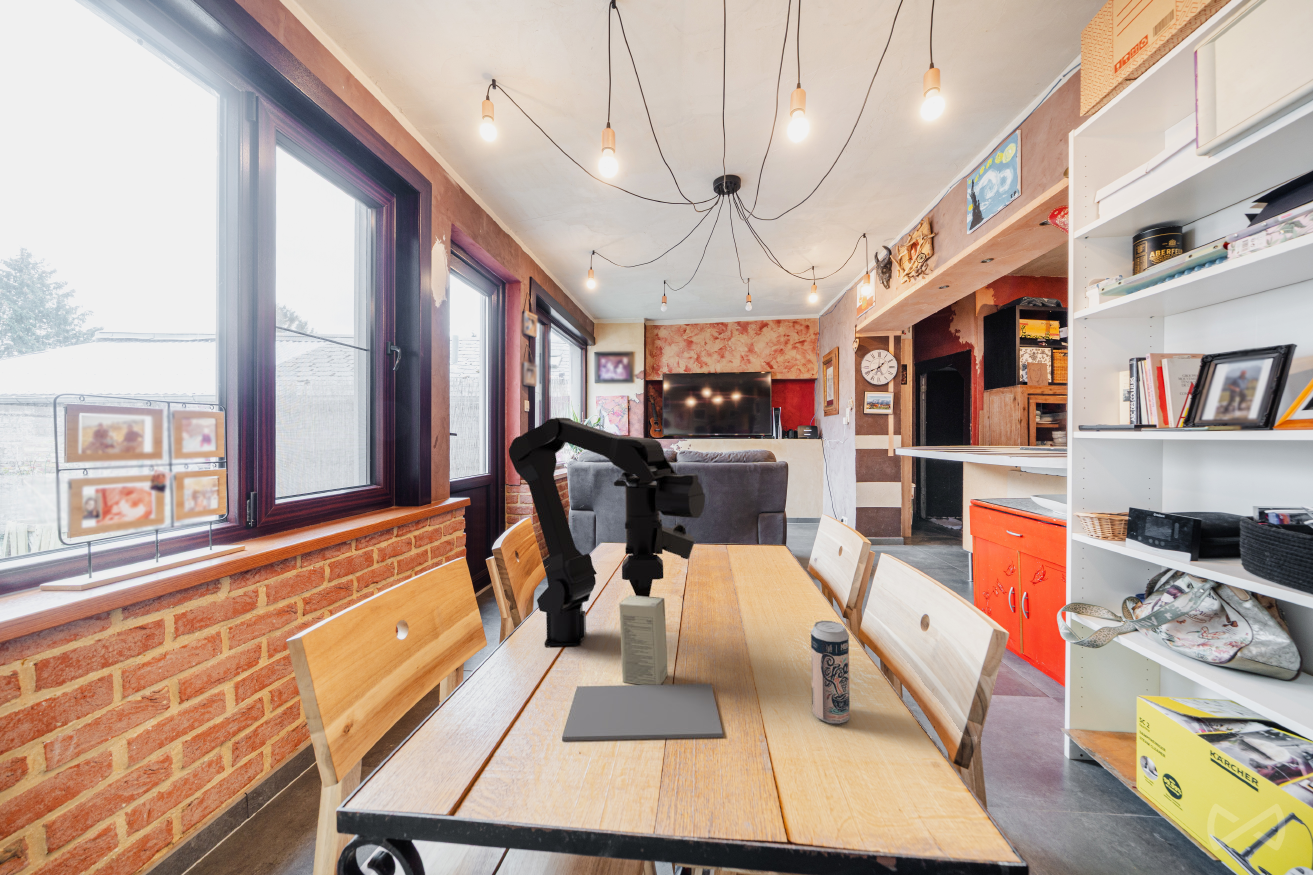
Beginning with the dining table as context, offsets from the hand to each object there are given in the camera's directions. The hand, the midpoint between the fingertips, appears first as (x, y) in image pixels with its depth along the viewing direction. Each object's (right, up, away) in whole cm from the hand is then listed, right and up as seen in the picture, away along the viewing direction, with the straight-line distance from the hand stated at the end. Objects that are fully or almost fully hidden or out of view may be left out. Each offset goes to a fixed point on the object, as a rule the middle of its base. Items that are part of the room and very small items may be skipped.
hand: (644, 606), depth 81 cm
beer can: (+25, -9, -17) cm, 32 cm away
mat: (0, -9, -15) cm, 17 cm away
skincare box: (0, -9, -6) cm, 11 cm away
